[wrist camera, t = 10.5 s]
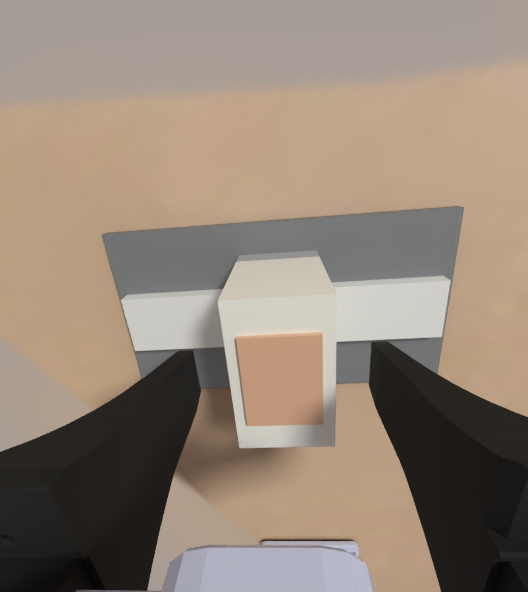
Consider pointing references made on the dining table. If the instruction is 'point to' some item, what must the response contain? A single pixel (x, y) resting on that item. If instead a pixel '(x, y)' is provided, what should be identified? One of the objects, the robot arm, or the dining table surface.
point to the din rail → (292, 238)
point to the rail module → (281, 349)
